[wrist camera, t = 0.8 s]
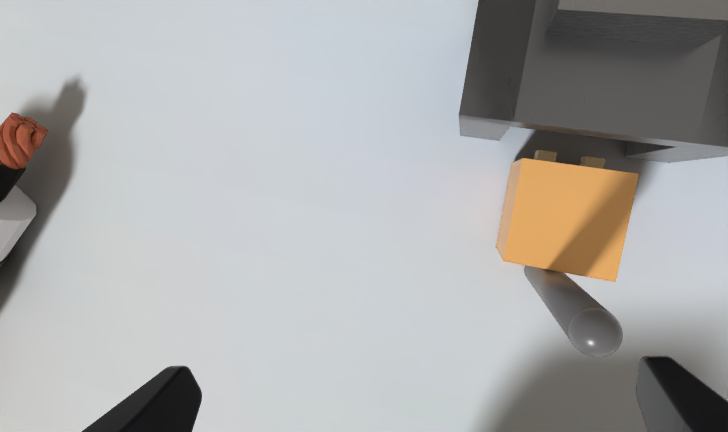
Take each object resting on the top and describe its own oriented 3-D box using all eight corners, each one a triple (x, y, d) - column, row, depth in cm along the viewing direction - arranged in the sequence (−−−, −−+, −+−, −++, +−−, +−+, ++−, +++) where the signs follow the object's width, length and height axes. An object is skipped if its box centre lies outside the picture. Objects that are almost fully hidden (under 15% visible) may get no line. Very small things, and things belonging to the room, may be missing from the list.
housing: (669, 162, 21) (817, 145, 12) (460, 135, 23) (458, 104, 14) (696, 41, 20) (873, -68, 12) (479, 25, 22) (489, -79, 14)
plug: (579, 289, 22) (686, 384, 11) (490, 272, 23) (514, 345, 12) (605, 164, 21) (743, 143, 11) (513, 151, 22) (558, 121, 12)
